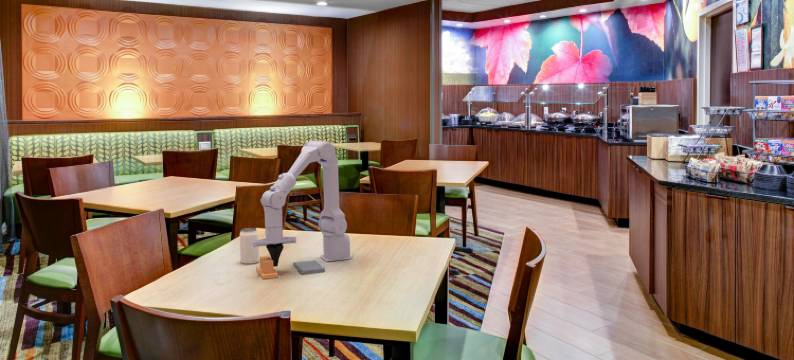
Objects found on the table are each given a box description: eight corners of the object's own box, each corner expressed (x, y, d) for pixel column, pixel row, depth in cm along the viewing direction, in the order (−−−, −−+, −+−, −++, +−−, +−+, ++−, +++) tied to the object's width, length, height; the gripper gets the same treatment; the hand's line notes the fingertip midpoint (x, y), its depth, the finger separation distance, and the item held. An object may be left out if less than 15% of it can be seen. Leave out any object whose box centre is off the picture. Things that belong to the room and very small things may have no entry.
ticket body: (315, 263, 219) (315, 259, 219) (324, 271, 208) (324, 268, 208) (293, 265, 216) (293, 262, 216) (301, 274, 205) (301, 270, 205)
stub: (270, 268, 213) (270, 253, 212) (278, 277, 202) (277, 262, 201) (256, 269, 211) (255, 255, 210) (262, 279, 200) (262, 263, 199)
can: (254, 264, 218) (253, 231, 216) (237, 263, 219) (236, 231, 218) (262, 260, 224) (260, 227, 223) (245, 259, 225) (244, 227, 224)
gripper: (292, 222, 212) (293, 260, 213) (249, 226, 206) (251, 265, 208) (297, 226, 205) (298, 265, 207) (253, 230, 200) (255, 270, 201)
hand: (275, 265), depth 207 cm, fingers closed
